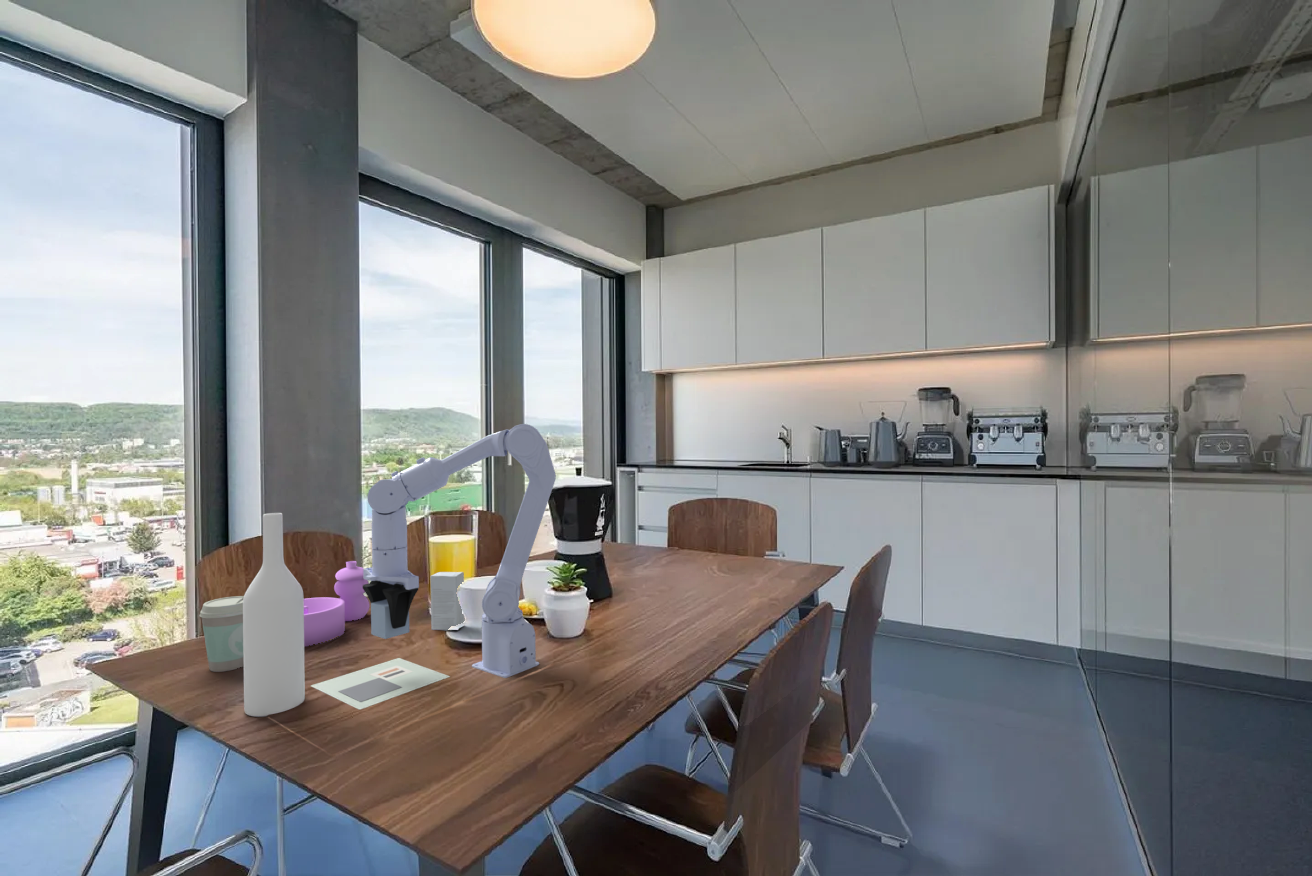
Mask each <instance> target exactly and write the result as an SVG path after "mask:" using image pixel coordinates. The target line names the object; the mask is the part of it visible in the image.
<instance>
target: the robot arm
mask: <svg viewBox="0 0 1312 876" xmlns="http://www.w3.org/2000/svg"><path fill="white" fill-rule="evenodd" d="M508 453H509V454H510V456H511V457H513V458H514V459H515V460H516V461H517V462H518V463H519V464H520V465H521V467H522V469H523V471H524V473H525V474H526V476H527V478H528V480H529V481H528V483H527V487H526V489H525V493H524V496H523V499H522V501H521V504H520V507H519V509H518V513H517V516H516V517H515V518H516V519H515V522H514V525H513V527H512V530H511V533H510V535H509V539H508V542H507V545H506V547H505V551H504V553H503V556H502V559H501V562H500V564H499V568H498V570H497V573H496V575H495V576H494V577H493V578H492V579H491V580H490V581H489V582H488V584H487V587H486V590H485V594H483V596H482V600H481V608H482V611H483V613H482V615H481V654H482V655H481V656H482V657H481V658H482V660H481V661H478V662H475V663H473V664H472V665H471V668H474V669H477V670H479V671H482V672H483V671H484V672H485V673H489V674H492V675H494V676H497V677H501V678H503V679H506V678H509V677H511V676H514V675H517V674H519V673H522V672H524V671H528V670H529V669H532V668H534V667H538V666H540V662H539V661H536V660H537V659H536V655H537V654H536V652H537V651H536V630H535V628H534V626H533V625H532V624H531V623H529V622H528V621H526V619H525V618H524V616H523V614H524V612H523V610H522V609H521V608H520V607H519V606H520V598H521V597H520V596H521V583H522V580H523V576H524V572H525V570H526V567H527V565H528V561H529V557H530V555H531V552H532V549H533V546H534V544H535V540H536V538H537V534H538V532H539V529H540V525H541V523H542V520H543V517H544V514H545V512H546V508H547V506H548V503H549V499H550V496H551V494H552V491H553V488H554V485H555V482H556V479H557V475H556V471H555V470H556V469H555V467H554V465H553V463H554V462H553V460H552V456H551V454H550V450H549V447H548V443H547V442H546V440H545V439H544V437H543V436H542V435H541V433H540V431H539V430H538V429H537V428H536V427H534V426H533V425H531V424H527V423H521V424H517V425H514V426H513V427H512V428H510V429H507V428H506V429H504V430H500V431H497V432H495V433H492V434H489V435H486V436H484V437H482V438H480V439H478V440H476V441H475V442H473V443H471V444H469V445H467V446H465V447H463V448H462V449H459V450H458V451H456V452H454V453H452V454H450V455H448V456H446V457H444V458H443V459H439V458H437V457H436V458H435V457H428V458H426V457H420V458H418V459H417V460H416V461H415V462H416V464H413V465H411V466H409V467H408V468H405V469H403V470H402V471H398V470H395V471H393V472H391V473H390V475H391V478H388V479H386V478H385V479H380V480H378V481H377V482H376V483H374V484H373V485H372V486H371V487H370V489H369V490H368V493H367V502H368V505H369V507H370V508H371V520H372V521H371V567H366V568H364V569H363V578H364V579H365V580H368V583H369V584H365V585H363V590H364V591H365V594H366V597H367V599H368V601H369V603H370V604H371V603H373V602H378V601H382V600H386V599H387V602H388V606H389V610H390V619H391V625H392V628H394V629H396V628H400V627H403V626H405V625H406V621H407V616H408V612H409V613H410V608H411V605H412V603H413V600H414V597H415V596H416V594H417V593H418V591H419V588H420V583H419V582H420V580H419V578H420V577H419V575H415V574H413V573H412V572H411V571H410V570H408V569H409V568H408V523H407V522H408V520H407V504H408V503H409V502H415V501H417V500H419V499H421V498H424V497H426V496H427V495H430V494H431V493H433V492H435V491H438V490H440V489H442V488H444V487H445V486H447V484H448V481H449V478H450V476H451V475H453V474H454V473H457V472H459V471H461V470H463V469H465V468H468V467H469V466H472V465H474V464H475V463H478V462H481V461H482V460H485V459H487V458H489V457H507V456H508Z"/></svg>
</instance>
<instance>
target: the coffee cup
mask: <svg viewBox="0 0 1312 876" xmlns="http://www.w3.org/2000/svg"><path fill="white" fill-rule="evenodd" d="M243 598H244V595H239V596H236V595H235V596H227V597H220V598H215V599H213V600H212V599H211V600H209V601H206V602H204V603H203V604H202V608H201V610H200V612H199V613H200V614H199V617H200V618H201V622H202V629H203V636H204V642H205V643H204V644H205V649H206V657H207V663H208V668H209V671H211V672H214V673H221V672H222V673H223V672H229V671H234V670H238V669H241V668H244V653H243ZM240 667H241V668H240ZM237 668H238V669H237Z"/></svg>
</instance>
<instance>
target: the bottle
mask: <svg viewBox="0 0 1312 876" xmlns="http://www.w3.org/2000/svg"><path fill="white" fill-rule="evenodd" d="M283 521H284V520H283V513H282V512H269V513H264V514H262V547H263V548H262V564H261V567H260V569H259V571H258V573H257V574H256V575H255V577H254V578H253V580H252V581H251V583H250V584H249V586H248V587H247V589H246V591H245V592H244V595H243V596H244V598H243V653H244V666H243V703H244V704H243V708H244V713H245V714H246V715H247V716H250V717H259V718H260V717H262V718H263V717H268V716H269V715H273V714H278V713H282V712H283V713H284V712H285V711H288V710H291V709H293V708H296V707H298V706H300V705H301V704H302V703H304V701H305V697H306V696H305V695H306V694H305V693H306V690H305V689H306V687H305V685H306V684H305V682H306V681H305V679H306V677H305V646H304V599H305V598H304V591H303V587H302V585H301V584H300V582H299V581H298V580H297V579H296V577H295V576H294V574H293V573H292V572H291V571H290V569H289V568H288V567H287V565H286V563H285V559H284V522H283Z"/></svg>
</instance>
